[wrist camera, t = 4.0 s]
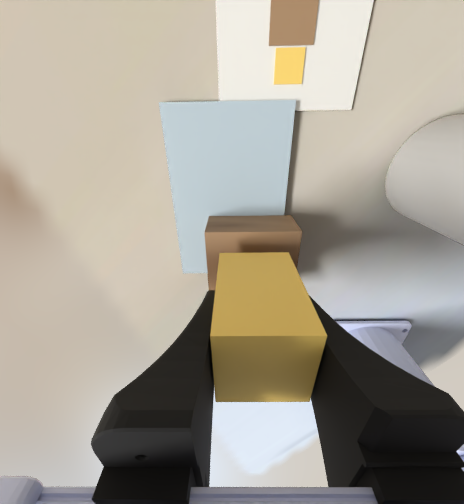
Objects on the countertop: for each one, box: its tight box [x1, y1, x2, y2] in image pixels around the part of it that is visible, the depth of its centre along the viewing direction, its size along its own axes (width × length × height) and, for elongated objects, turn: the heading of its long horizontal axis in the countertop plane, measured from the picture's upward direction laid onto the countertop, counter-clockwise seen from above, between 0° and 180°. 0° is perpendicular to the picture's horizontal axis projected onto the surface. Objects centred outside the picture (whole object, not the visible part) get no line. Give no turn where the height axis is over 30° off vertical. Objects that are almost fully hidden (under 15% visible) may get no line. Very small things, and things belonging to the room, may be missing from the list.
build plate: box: [159, 100, 296, 273], centre depth 16 cm, size 12×8×1 cm, turn 1°
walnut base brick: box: [204, 215, 302, 290], centre depth 16 cm, size 6×6×3 cm
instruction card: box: [216, 0, 374, 111], centre depth 12 cm, size 6×8×1 cm
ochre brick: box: [210, 252, 327, 402], centre depth 11 cm, size 4×4×6 cm
